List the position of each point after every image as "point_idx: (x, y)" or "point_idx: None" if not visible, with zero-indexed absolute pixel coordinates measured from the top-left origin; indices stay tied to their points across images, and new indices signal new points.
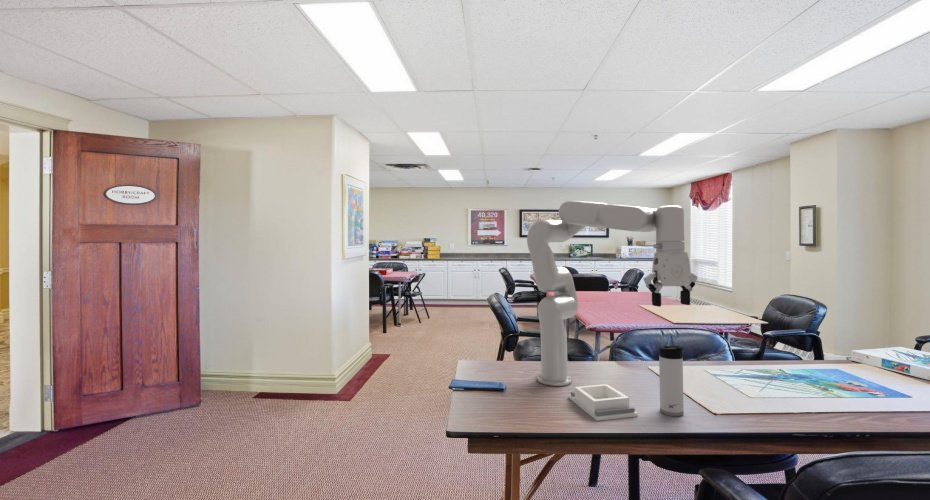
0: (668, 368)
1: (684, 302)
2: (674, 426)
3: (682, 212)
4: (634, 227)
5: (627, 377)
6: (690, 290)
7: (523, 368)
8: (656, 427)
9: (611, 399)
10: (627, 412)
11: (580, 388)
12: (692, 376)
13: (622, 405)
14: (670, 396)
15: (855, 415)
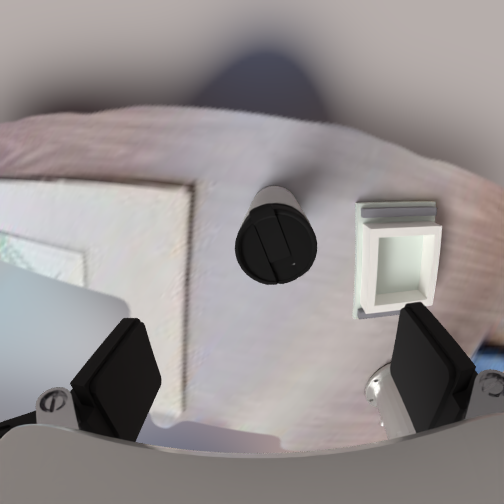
0: (300, 208)
1: (147, 356)
2: (311, 145)
3: None
4: None
5: (250, 384)
6: (57, 398)
7: None
8: (348, 149)
9: (409, 227)
10: (376, 207)
11: (427, 296)
12: None
13: (380, 225)
14: (291, 195)
15: (12, 166)
